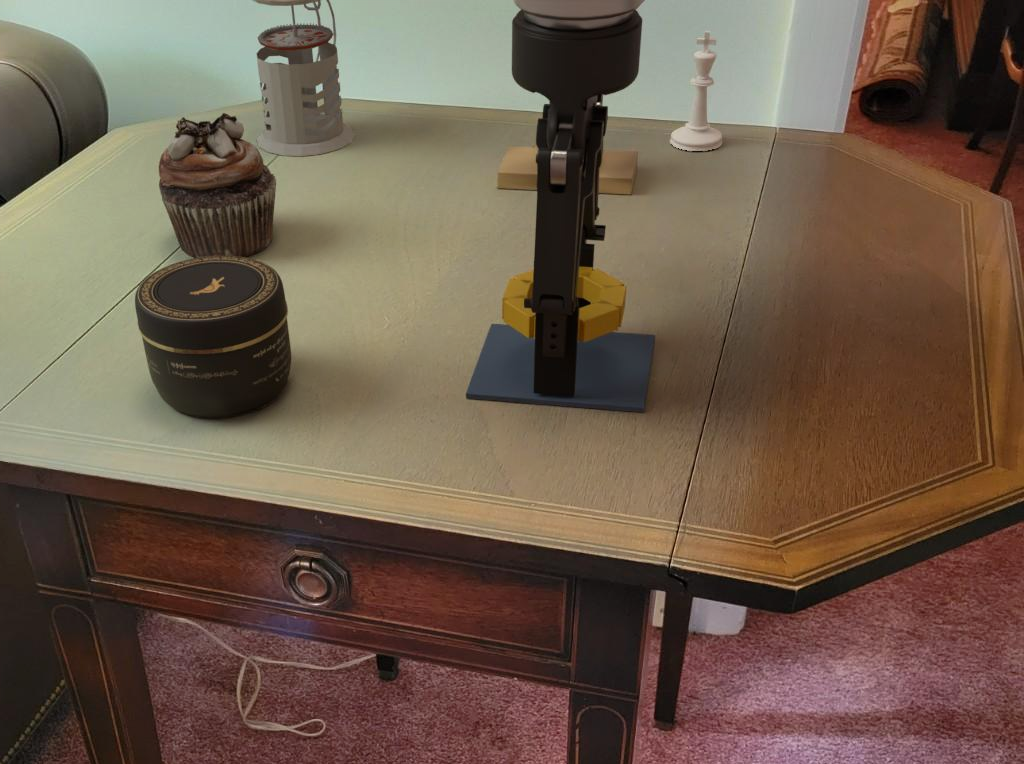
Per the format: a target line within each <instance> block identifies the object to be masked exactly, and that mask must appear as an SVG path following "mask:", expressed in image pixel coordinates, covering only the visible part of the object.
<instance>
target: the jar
mask: <svg viewBox="0 0 1024 764" xmlns="http://www.w3.org/2000/svg"><path fill="white" fill-rule="evenodd" d="M136 289H137V290H136V292H135V296H134V305H135V313H136V318H137V327H138V331H139V334H140V335H141V338H142V343H143V348H144V353H145V357H146V362H147V367H148V371H149V375H150V378H151V381H152V383H153V385H154V387H155V389H156V391H157V393H158V394H159V396H160V398H161V399H162V400H163V402H165V403H166V404H167V405H168V406H170V407H171V408H172V409H174V410H176V411H177V412H179V413H181V414H183V415H186V416H191V417H195V418H199V419H200V418H201V419H226V418H234V417H238V416H239V417H240V416H242V415H247V414H250V413H252V412H255V411H258V410H260V409H262V408H264V407H266V406H268V405H269V404H270V403H272V402H273V401H274V400H276V399H277V398H278V397H279V395H280V394H281V393H282V391H284V389H285V388H286V386H287V384H288V381H289V378H290V372H291V366H292V348H291V340H290V332H289V331H290V330H289V323H288V316H289V315H288V314H289V308H288V303H287V300H286V294H285V288H284V284H283V281H282V277H281V275H280V274H279V273H278V272H277V271H276V270H275V269H274V268H273V267H272V266H270V265H268V264H267V263H264V262H262V261H260V260H257V259H254V258H249V257H238V256H207V257H199V258H195V257H192V258H189V259H184V260H180V261H177V262H174V263H172V264H168V265H167V266H164V267H162V268H159V269H158V270H156V271H154V272H152V273H151V274H150V275H148V276H147V277H146V278H144V280H143V281H142V282H141V283H140V284H139V286H138V287H137V288H136Z"/></svg>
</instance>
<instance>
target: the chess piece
mask: <svg viewBox="0 0 1024 764" xmlns="http://www.w3.org/2000/svg"><path fill="white" fill-rule="evenodd" d="M710 35H711V30H705V31H704V37H697V39H696V45H703V48H702V49H701V50H698V51H696V52H694V54H693V61H694V64H695V70H696V74H697V75H696V76H694V77H692V78H691V80H690V84H691V85H692V86H694V87H696V89H695V93H694V98H693V104H692V108H691V112H690V116H689V119H688V122H686V123H685V125H684V126H680V127H678V128H676V129H674V130H673V131H672V132H671V135H670V138H669V144H670V145H671V144H672V145H673V146H672V145H671V146H672V147H674V148H675V147H676V149H678V148H679V149H678V150H681V149H682V150H681V151H685V150H687V151H686V152H692V151H703V152H709V151H708V150H710V151H713V150H712V149H714V150H716V149H719V148H720V147H722V145H723V134H722V133H721V131H720V130H719V129H717V128H714V127H712V126H711V124H710V123H709V122H708V87H710V86H713V85H714V84H715V79H714V78H713V77H711V76H710V73H711V71H712V68H713V65H714V63H715V61H716V58H717V53H716V52H715V51H712V50H710V49H709V46H710V45H711V46H712V45H713V46H716V45H717V38H716V37H711V36H710Z"/></svg>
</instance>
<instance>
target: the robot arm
mask: <svg viewBox="0 0 1024 764" xmlns="http://www.w3.org/2000/svg"><path fill="white" fill-rule="evenodd" d="M644 2H645V0H513V3H514V5H516V7H517V8H518V9H520V10H519V11H518V12H517V13H516V15H515V16H514V17H513V19H512V20H511V76H512V78H513V80H514V82H515V83H516V85H518V86H519V87H520V88H522V89H523V90H525V91H527V92H530V93H533V94H535V93H537V94H539V95H541V96H543V97H545V99H547V100H548V101H549V103H544V104H543V107H542V115H541V117H542V118H541V117H539V118H537V120H538V122H537V121H536V122H537V132H536V131H535V146H536V145H537V147H538V154H536V163H537V190H536V208H535V209H536V210H535V211H536V212H535V213H536V214H535V230H534V231H535V233H534V252H533V253H534V254H533V255H534V256H533V270H534V274H533V295H532V298H525V299H524V308H531V311H532V313H536V315H535V355H534V393H538V394H550V395H562V396H574V393H575V381H576V362H577V340H578V321H579V308H582V307H585V306H587V305H590V304H592V303H591V302H589V301H587V300H586V299H584V298H577V285H578V274H579V266H581V267H593V268H594V259H595V243H587V241H595V242H596V241H598V242H603V241H605V239H606V238H605V237H606V228H607V227H606V225H605V224H595V223H596V221H597V218H599V216H600V207H599V193H598V192H599V168H600V166H601V161H602V155H603V150H604V137H605V136H606V133H607V132H606V131H607V126H608V120H609V106H608V105H603V104H604V96H609V95H613V94H615V93H618V92H621V91H623V90H625V89H627V88H628V87H629V86H631V85H632V84H633V83H634V82H635V80H637V78H638V75H639V71H640V60H641V59H640V58H641V46H642V33H643V31H642V30H643V17H642V16H641V15H640V13H639V11H638V10H637V9H638V8H639V7H640V6H642V4H643V3H644Z"/></svg>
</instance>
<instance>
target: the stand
mask: <svg viewBox="0 0 1024 764" xmlns="http://www.w3.org/2000/svg"><path fill="white" fill-rule="evenodd" d="M540 118H542V116H540ZM537 122H538V119H537V120H536V122H535V123H536V124H535V133H536V132H537ZM536 154H538V147H537V145H536V144H535V146H517V145H516V146H515V145H512V146H511V145H510V146H508V148H507V149H506V152H505V154H504V156H503V159H502V161H501V164H500V166H499V167H498V171H497V178H496V179H497V180H496V181H497V183H496V184H497V189H503V190H505V189H506V190H524V191H525V190H527V191H528V190H529V191H537V163H536ZM638 162H639V151H638V150H637V151H636V150H634V151H633V150H611V149H610V150H609V149H603V155H602V161H601V166H600V168H599V192H598V194H612V195H632V192H633V188H634V182H635V179H636V174H637V169H638Z"/></svg>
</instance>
